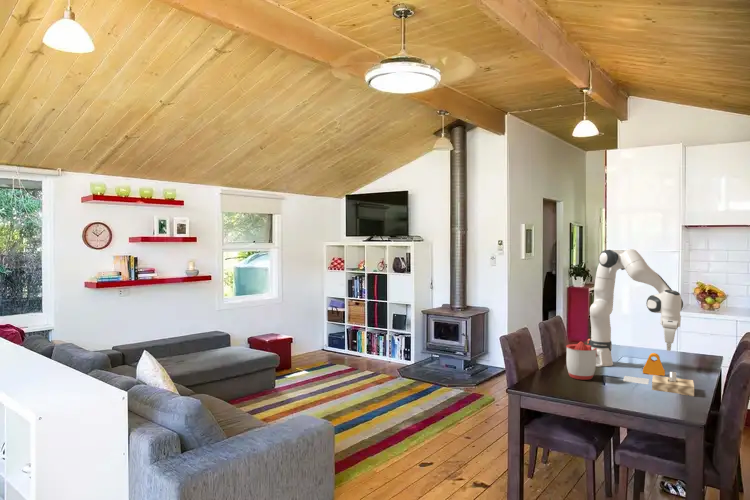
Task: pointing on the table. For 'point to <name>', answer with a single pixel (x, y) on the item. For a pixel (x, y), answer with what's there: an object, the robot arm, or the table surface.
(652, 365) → the bracket
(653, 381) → the oak hole block
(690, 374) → the table surface
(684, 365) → the table surface
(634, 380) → the rubber mat
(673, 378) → the steel pin
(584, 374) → the citrus juicer
